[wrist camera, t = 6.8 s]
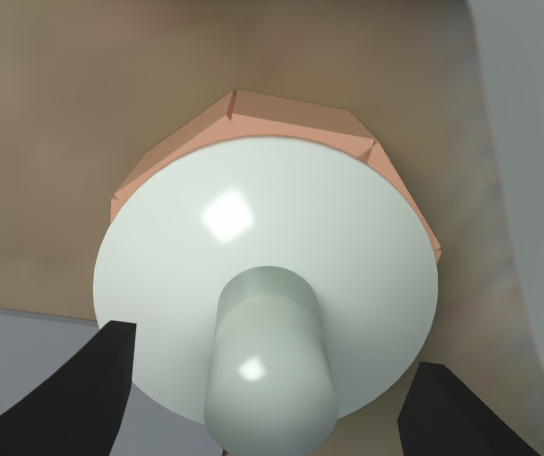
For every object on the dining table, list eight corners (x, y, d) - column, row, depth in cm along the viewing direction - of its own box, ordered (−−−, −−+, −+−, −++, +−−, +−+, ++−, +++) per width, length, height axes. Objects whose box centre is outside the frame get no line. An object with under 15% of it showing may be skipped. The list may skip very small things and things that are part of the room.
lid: (488, 191, 15) (598, 277, 10) (359, 439, 19) (393, 582, 14) (132, 85, 13) (61, 128, 8) (80, 384, 17) (13, 523, 13)
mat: (244, 341, 22) (244, 346, 22) (210, 508, 27) (209, 515, 27) (-23, 305, 21) (-28, 310, 21) (-8, 487, 26) (-12, 494, 26)
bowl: (427, 125, 18) (476, 158, 14) (356, 344, 23) (378, 417, 18) (150, 72, 17) (117, 92, 13) (131, 313, 21) (101, 384, 17)
